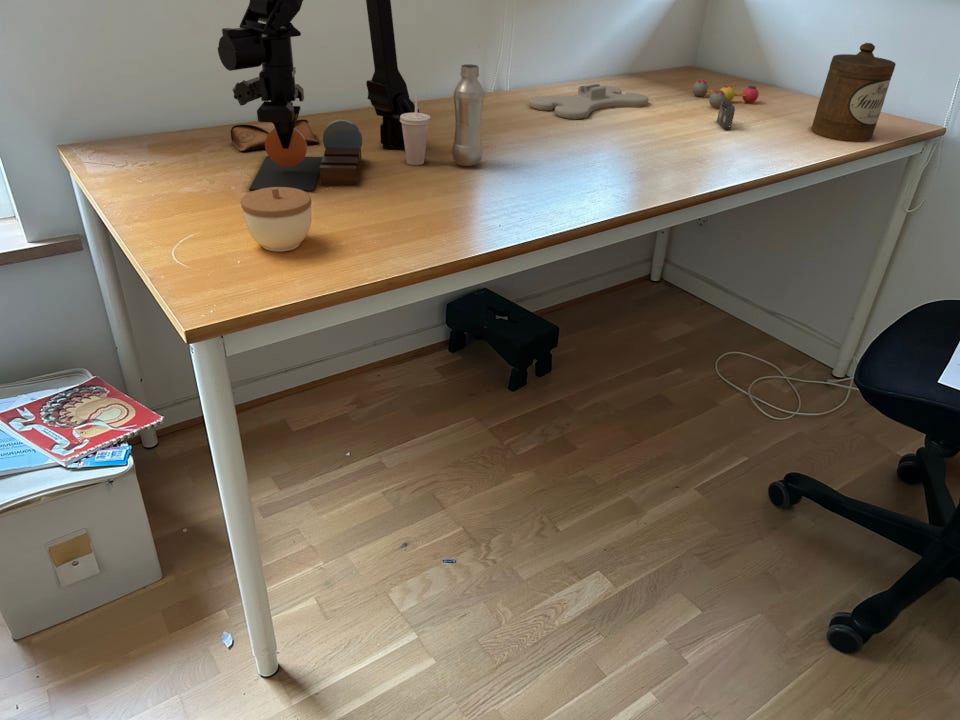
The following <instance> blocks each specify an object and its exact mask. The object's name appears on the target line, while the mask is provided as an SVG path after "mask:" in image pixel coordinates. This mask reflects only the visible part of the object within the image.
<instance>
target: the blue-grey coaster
mask: <svg viewBox="0 0 960 720" xmlns="http://www.w3.org/2000/svg"><path fill="white" fill-rule="evenodd" d="M362 135H363V134H362V133H361V130H360V128H359V127H358V125H356V124H355V123H354V122H352V121H350V120H348V119H335V120H333V121H331V122H330V123H328V124H327V126H326V127H325V129H324V131H323V135H322V143H323V146H324V150H325V149H326V148H348V149H361V150H362V146H363V136H362Z"/></svg>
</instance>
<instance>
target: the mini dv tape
mask: <svg viewBox="0 0 960 720" xmlns="http://www.w3.org/2000/svg"><path fill="white" fill-rule="evenodd" d="M735 111H736V107H735V106H734V105H733V104H732V103H731V101H730V102H729V101H727V100H726V99H721V103H720V108H718V114H717V118H716V123H717V124H718V125H719V126H720V127H721V128H722V129H723V130H724V131H731V129H732V125H733V122H734V121H733V120H734V116H735ZM729 126H730V127H729Z"/></svg>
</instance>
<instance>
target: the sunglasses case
mask: <svg viewBox="0 0 960 720" xmlns="http://www.w3.org/2000/svg"><path fill="white" fill-rule="evenodd" d="M273 128H275V126H274V124H273V123H272V122H262V123H255V124H249V123H248V124H247V123H243V124H242V123H241V124H235V125H233V126H232V127H231V129H230V140H231V143H232V145H233V146H234V148H235V149H237V150H238V151H240V152H245V151H252V150H262V149H263V150H266V149H265V140H266V137H267V135H268V133H269V132H270V131H271V130H272V129H273ZM295 128H296V129H297V130H299V131H300V132H301V133H302V134H303V136H304V138H305V140H306V143H307V145H310V144H314V143H319V141H318V140H317V139H316V137H315V136H314V133H313V131H312V128H311V126H310V125H309V121H308V120H307V119H304V118H303V119H302V118H301V119H297V122H296V126H295Z"/></svg>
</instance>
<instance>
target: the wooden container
mask: <svg viewBox="0 0 960 720" xmlns="http://www.w3.org/2000/svg"><path fill="white" fill-rule="evenodd" d="M859 50H860V51H859V52H858V53H856V54H852V53H851V54H850V53H849V54H848V53H847V54H846V53H844V54H843V53H841V54H836V55H832V58H831V60H830V65H829V69H828V72H827V74H826V78H825V82H824V85H823V88H822V91H821V94H820V97H819V100H818V103H817V107H816V110H815V113H814V114H815V115H814V117H813V121H812V125H811V131H812V132H813V133H815V134H817V135H818V136H822V137H824V138H828V139H831V140H838V141H844V142H866V141H869V140H871V139H872V138H873V135H874V132H875V130H876V127H877V123H878V121H879V118H880V116H881V112H882V109H883V106H884V103H885V99H886V96H887V93H888V90H889V86H890V83H891V80H892V76H893V74H894V71H895V68H896V64H897V63H896V62H895V61H893V60H890V59H887V58H882V57H879V56H878V57H877V56H875V55H874V53H873V52H874V51H875V50H876V46H875V45H874V44H873V43H871V42H864V43H862V44H861V45H860V46H859Z"/></svg>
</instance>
